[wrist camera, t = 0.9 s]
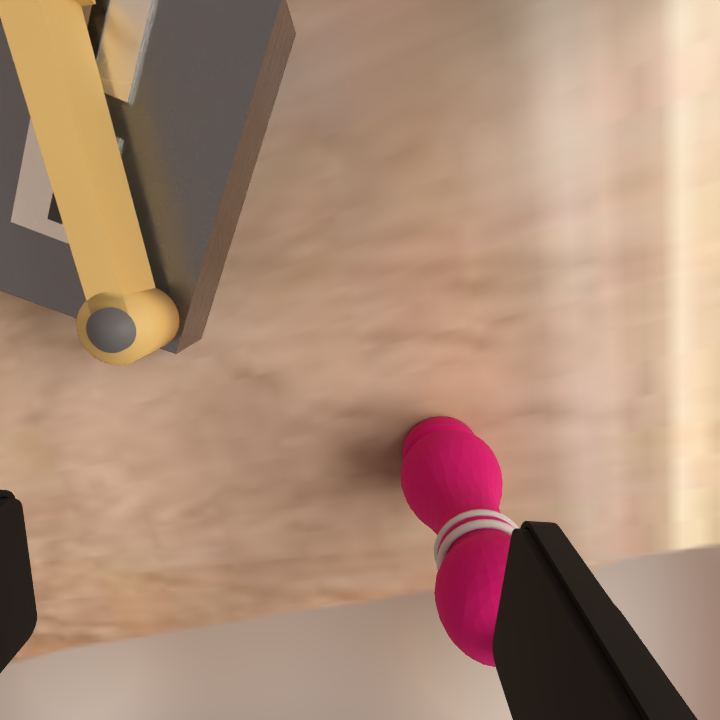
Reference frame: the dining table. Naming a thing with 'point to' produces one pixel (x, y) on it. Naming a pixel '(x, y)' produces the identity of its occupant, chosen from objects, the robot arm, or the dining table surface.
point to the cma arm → (88, 180)
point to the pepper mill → (460, 526)
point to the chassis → (153, 145)
